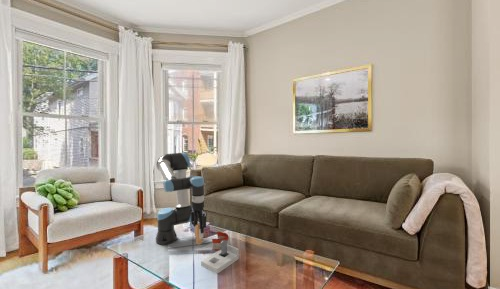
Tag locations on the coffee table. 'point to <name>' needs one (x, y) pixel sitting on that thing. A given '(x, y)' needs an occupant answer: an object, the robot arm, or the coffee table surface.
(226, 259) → the housing
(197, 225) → the orange pin
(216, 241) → the toy
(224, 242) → the grey pin
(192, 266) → the coffee table surface
